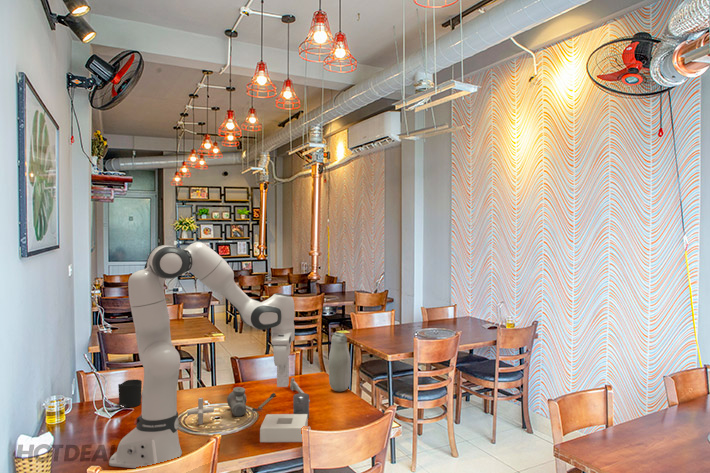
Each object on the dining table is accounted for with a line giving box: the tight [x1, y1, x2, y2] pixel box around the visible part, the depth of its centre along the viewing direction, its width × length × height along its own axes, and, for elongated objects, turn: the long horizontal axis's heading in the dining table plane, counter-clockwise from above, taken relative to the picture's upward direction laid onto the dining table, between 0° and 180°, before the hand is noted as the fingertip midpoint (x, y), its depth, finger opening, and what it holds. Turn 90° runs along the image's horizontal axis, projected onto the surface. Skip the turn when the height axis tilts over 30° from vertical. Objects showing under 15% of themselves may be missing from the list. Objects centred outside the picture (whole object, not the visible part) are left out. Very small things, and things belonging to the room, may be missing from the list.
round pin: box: [292, 392, 310, 419], centre depth 199 cm, size 6×6×9 cm
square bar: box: [276, 357, 290, 388], centre depth 185 cm, size 4×4×10 cm
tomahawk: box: [252, 392, 277, 412], centre depth 217 cm, size 22×7×1 cm, turn 167°
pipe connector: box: [186, 397, 215, 425], centre depth 193 cm, size 10×10×10 cm
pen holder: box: [118, 379, 143, 408], centre depth 215 cm, size 9×9×10 cm
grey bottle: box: [328, 332, 351, 392], centre depth 234 cm, size 10×10×28 cm
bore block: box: [259, 413, 309, 443], centre depth 182 cm, size 16×14×5 cm
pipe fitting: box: [226, 386, 247, 418], centre depth 205 cm, size 12×8×10 cm
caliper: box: [289, 377, 311, 403], centre depth 227 cm, size 21×1×6 cm, turn 30°
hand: (282, 371), depth 185 cm, fingers closed on square bar, 4 cm apart
